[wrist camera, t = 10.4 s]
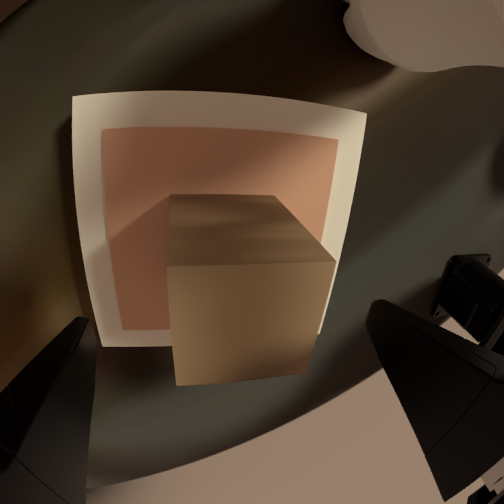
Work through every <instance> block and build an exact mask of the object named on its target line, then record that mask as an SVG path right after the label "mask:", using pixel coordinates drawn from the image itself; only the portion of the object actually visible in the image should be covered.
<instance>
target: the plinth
mask: <svg viewBox="0 0 504 504" xmlns="http://www.w3.org/2000/svg"><path fill="white" fill-rule="evenodd" d="M366 116H367V113H363V112H358V111H354V110H349V109H344V108H339V107H334V106H329V105H323V104H317V103H312V102H305V101H299V100H292V99H285V98H277V97H269V96H260V95H250V94H238V93H224V92H205V91H133V92H115V93H101V94H90V95H81V96H73V102H72V155H73V175H74V190H75V201H76V211H77V220H78V228H79V236H80V243H81V249H82V256H83V262H84V267H85V273H86V278H87V283H88V288H89V293H90V298H91V302H92V307H93V311H94V315H95V320H96V324H97V328H98V331H99V335H100V339H101V343H102V346H103V347H148V346H172V339H171V328H170V315H169V302H168V286H167V235H168V215H169V198H170V194H237V195H274V196H275V197H276V198H277V199H278V200H279V201H280V202H281V203H282V204H283V205H284V206H285V207H286V208H287V209H288V210H289V211H290V212H291V213H292V214H293V215H294V216H295V217H296V218H297V219H298V220H299V221H300V222H301V224H302V225H303V226H304V227H305V228H306V229H307V230H308V231H309V232H310V233H311V234H312V235H313V236H314V237H315V238H316V239H317V241H318V242H319V243H320V244H321V245H322V246H323V247H324V248H325V249H326V250H327V251H328V252H329V254H330V255H331V256H332V257H333V258H334V259H335V260H336V261H337V262H336V266H335V270H334V274H333V278H332V282H331V286H330V290H329V294H328V298H327V301H326V305H325V309H324V313H323V316H322V320H321V324H320V327H319V331H318V334H320V331H321V327H322V324H323V320H324V317H325V313H326V309H327V306H328V302H329V298H330V295H331V291H332V287H333V283H334V279H335V275H336V271H337V267H338V263H339V259H340V255H341V250H342V246H343V242H344V237H345V233H346V228H347V224H348V219H349V214H350V209H351V205H352V200H353V194H354V189H355V184H356V179H357V173H358V167H359V162H360V156H361V150H362V143H363V137H364V130H365V124H366Z"/></svg>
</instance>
